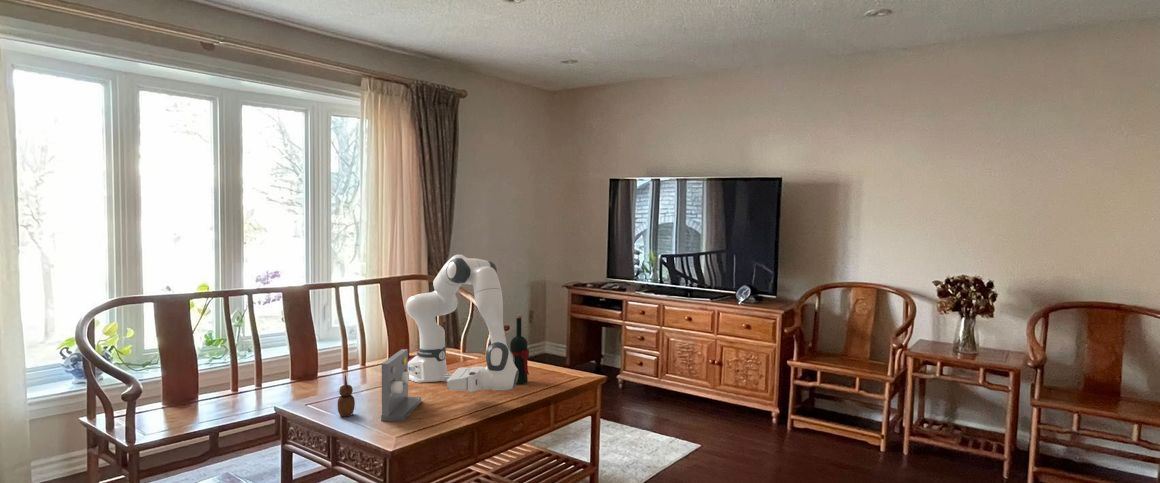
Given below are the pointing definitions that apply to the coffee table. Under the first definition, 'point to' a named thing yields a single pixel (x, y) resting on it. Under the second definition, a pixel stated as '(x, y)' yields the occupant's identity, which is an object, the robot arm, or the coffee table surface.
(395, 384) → the unlit button
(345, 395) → the wooden figurine
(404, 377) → the beige rounded lump
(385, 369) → the control panel
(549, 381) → the coffee table surface
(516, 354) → the wine bottle
